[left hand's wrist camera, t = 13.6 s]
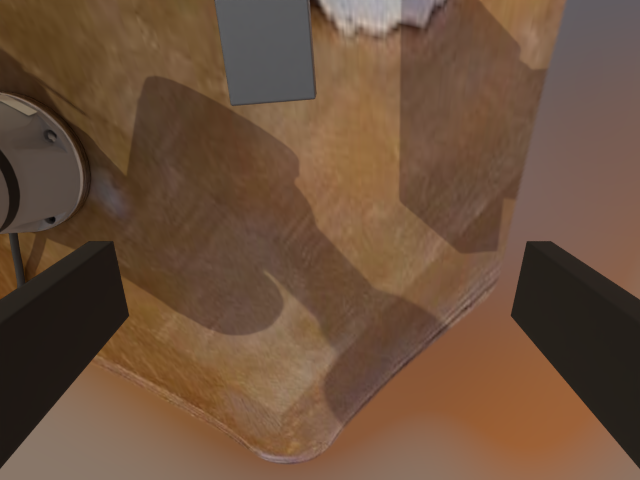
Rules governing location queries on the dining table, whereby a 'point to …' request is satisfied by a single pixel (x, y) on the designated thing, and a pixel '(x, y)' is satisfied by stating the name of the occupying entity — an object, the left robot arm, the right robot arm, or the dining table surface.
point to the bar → (267, 50)
